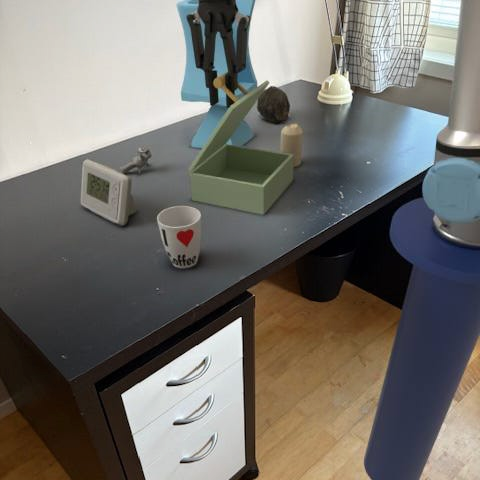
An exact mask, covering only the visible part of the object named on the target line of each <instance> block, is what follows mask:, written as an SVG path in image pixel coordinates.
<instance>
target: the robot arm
mask: <svg viewBox="0 0 480 480" xmlns="http://www.w3.org/2000/svg"><path fill="white" fill-rule="evenodd" d="M459 5H460V7H459V15H458V25H457V35H456V45H455V55H454V64H453V74H452V80H451V81H452V83H451V91H450V101H449V110H448V111H449V112H448V119H447V120H448V121H447V125H446V126H445V127H443V129H441V130H440V131H439V132H438V133H437V134H436V138H435V139H436V140H435V150H434V159H433V165H432V166H431V167H429V169H428V170H427V173H426V174H425V177H424V179H423V182H422V186H421V187H422V188H421V190H422V191H421V192H422V198H423V197H424V200H425V202H426V204H427V206H428V207H429V209H431V210H432V211H433V212H434V213H435V215H434V218H433V222H432V229H433V231H434V232H435V234H436V235H437V236H438V237H440V238H441V239H442V240H444V241H446V242H448V243H450V244H452V245H455V246H458V247H461V248H465V249H471V250H480V0H460V4H459ZM186 18H187V21H188V24H189V26H190V29H191V36H192V43H193V50H194V58H195V65H196V68H198V69H199V68H200V69H202V70H203V71H204V73H205V85H206V88H209V96H210V103H209V106H210V107H211V106H214V105H215V104H217V103H218V102H219V98H218V89H217V88H216V87H215V86H214V84H213V82H214V79H216V78H217V70H212V69H214V68H215V67H214V54H215V41H216V35H217V32H220V36H221V38H222V41H223V46H224V52H225V57H226V63H227V68H228V73H227V74H226V75H225V86H226V88H227V89H228V90H229V91H231V92H232V93H233V94H234V95H235V90H237V88H238V73H239V72H241V71H243V70H244V69H245V68H246V54H247V29H248V26H249V23H250V24H251V22H250V20H251V21H252V17H251V18H250V16H248V15H247V16H244V15H243V14H241V13H239V12H238V8H237V5H236V0H199V5H198V8H197V11H196V12H194V13H192V14H189V15H187V17H186ZM235 19H236V26H238V28H237V40H236V52H235V46H234V40H233V28H232V25H233V23H234V21H235ZM201 20H202V21H203V23H204V25H205V30H204V36H205V48H204V44H203V36H202V28H201V23H200V22H201ZM234 103H235V102H234V101H233V100H232V99H231V98H230V97H229V96H228V95H227V94H226V107H227V108H230V106H231V105H233V104H234Z"/></svg>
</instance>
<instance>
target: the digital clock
mask: <svg viewBox="0 0 480 480" xmlns="http://www.w3.org/2000/svg"><path fill="white" fill-rule="evenodd" d="M81 169H82V171H81V186H80V187H81V188H80V204H81V206H83V207H84V208H86V209H88V210H90V212H92V213H94V214H96V215H97V216H99V217H101V218H104V219H105V220H108V221H109V222H111V223H113V224H117V225H119V226H121V227H124V226H125V225H127V223H128V220H129V216H131V215H134V214H135V213H136V206H135V200H134V196H133V194H132V178H131V177H130V176H128V175H126V174H124V173H123V172H121V171H119V170H117V169H115V168H112V167H110V166H107V165H105V164H103V163H102V162H101V163H100V162H98V161H94V160H91V159H89V158H88V159H85V160H84V161H83V163H82V168H81Z"/></svg>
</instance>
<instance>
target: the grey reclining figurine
mask: <svg viewBox="0 0 480 480" xmlns="http://www.w3.org/2000/svg"><path fill="white" fill-rule="evenodd" d="M137 153H138V155H136V156H134V157H133V158H132V161H131V162H129V163H126V164H125V165H123V166H120V167H119V168H120V170H121V173H122V174H124V175H126V174H127V173H128V172H130V171H131V170H134V169H135V168H137V170H138V175H140V174H141V171H142V168H143V167H145V166H149V163H148V161H149V159H151V158H152V152H151V151H150V150H149V149H148V148H146V147H142V148H141V147H139V148H138V150H137Z"/></svg>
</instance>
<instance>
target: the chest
mask: <svg viewBox="0 0 480 480" xmlns="http://www.w3.org/2000/svg"><path fill="white" fill-rule="evenodd" d="M293 163H294V154H287V153H281V151H274V150H268V149H260V148H254V147H249V146H248V147H247V146H235V145H229V144H225V145H224V146H223V147H221V148H220V149H219V150H218V151H216V152H215V153H214V154H213V155H211V156H210V157H209V158H208V159H207V160H205V161H204V162H203V163H202V164H200V165H199V166H198V167H197V168H195V169H194V170H193V171H192V172H189V183H190V191H191V200H192V201H194V202H199V203H203V204H208V205H213V206H218V207H223V208H228V209H233V210H238V211H243V212H247V213H252V214H256V215H262V216H264V215H265V214H266V213H267V211H269V209H270V208H271V207H272V206H273V205H274V204H275V202H276V201H277V200H278V199H279V197H281V195H282V194H283V193H284V192H285V190H286V189H287V188H288V187H289V186H290V185H291V184H292V182H293V181H294V167H293Z"/></svg>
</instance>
